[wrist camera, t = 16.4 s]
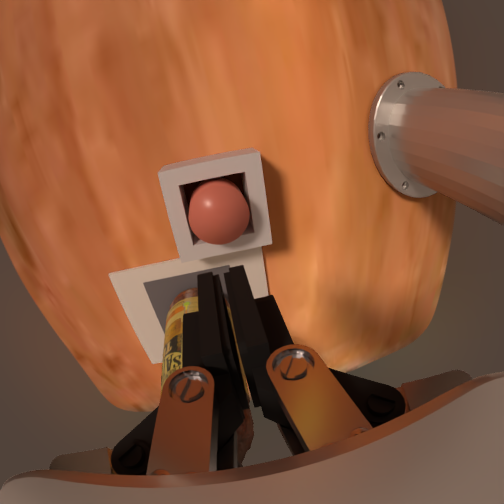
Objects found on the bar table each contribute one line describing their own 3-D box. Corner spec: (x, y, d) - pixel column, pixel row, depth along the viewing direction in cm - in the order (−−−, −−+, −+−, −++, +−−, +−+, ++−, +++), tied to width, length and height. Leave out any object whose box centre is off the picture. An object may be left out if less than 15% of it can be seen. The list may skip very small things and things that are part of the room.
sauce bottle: (169, 280, 25) (156, 521, 7) (237, 286, 26) (296, 513, 9) (166, 334, 27) (164, 533, 10) (226, 338, 29) (263, 530, 11)
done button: (238, 172, 20) (244, 181, 18) (246, 222, 22) (253, 238, 20) (184, 183, 20) (182, 194, 17) (196, 233, 22) (196, 250, 19)
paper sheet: (260, 240, 25) (260, 242, 25) (274, 339, 30) (275, 341, 30) (109, 273, 24) (108, 275, 23) (152, 361, 29) (152, 364, 29)
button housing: (252, 147, 21) (259, 152, 19) (264, 229, 24) (272, 244, 22) (163, 165, 21) (157, 172, 18) (183, 246, 24) (181, 263, 21)
